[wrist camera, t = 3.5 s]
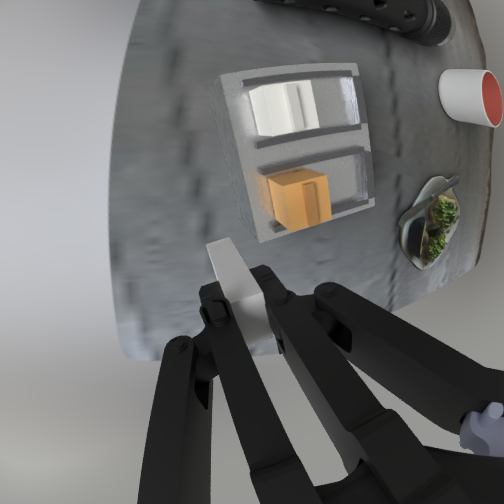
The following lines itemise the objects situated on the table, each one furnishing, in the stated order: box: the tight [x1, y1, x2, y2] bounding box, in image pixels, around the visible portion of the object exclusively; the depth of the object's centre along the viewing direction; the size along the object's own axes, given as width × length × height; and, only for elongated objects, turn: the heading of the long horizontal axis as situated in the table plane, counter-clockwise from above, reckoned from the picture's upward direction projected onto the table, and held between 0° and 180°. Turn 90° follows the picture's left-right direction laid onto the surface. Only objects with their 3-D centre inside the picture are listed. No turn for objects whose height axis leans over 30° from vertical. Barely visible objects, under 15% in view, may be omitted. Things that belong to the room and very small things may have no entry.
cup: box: [438, 69, 503, 128], centre depth 30 cm, size 10×10×10 cm
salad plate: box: [398, 175, 460, 270], centre depth 42 cm, size 19×18×5 cm
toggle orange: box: [268, 169, 332, 232], centre depth 24 cm, size 4×4×4 cm
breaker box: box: [208, 63, 375, 243], centre depth 28 cm, size 14×16×9 cm
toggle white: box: [249, 80, 319, 136], centre depth 20 cm, size 4×4×4 cm
